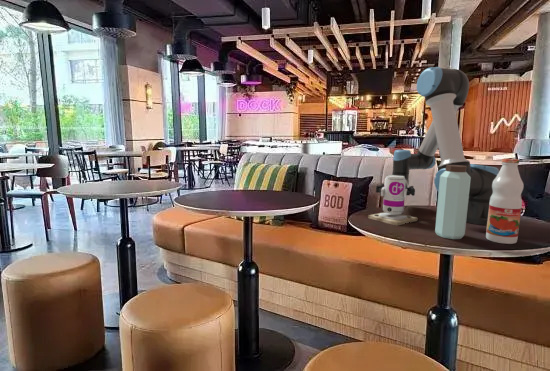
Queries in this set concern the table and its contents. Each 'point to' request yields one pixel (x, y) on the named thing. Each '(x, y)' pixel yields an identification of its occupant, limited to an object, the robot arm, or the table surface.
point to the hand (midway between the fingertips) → (393, 193)
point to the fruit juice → (505, 204)
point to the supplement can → (394, 194)
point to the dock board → (392, 218)
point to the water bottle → (452, 202)
